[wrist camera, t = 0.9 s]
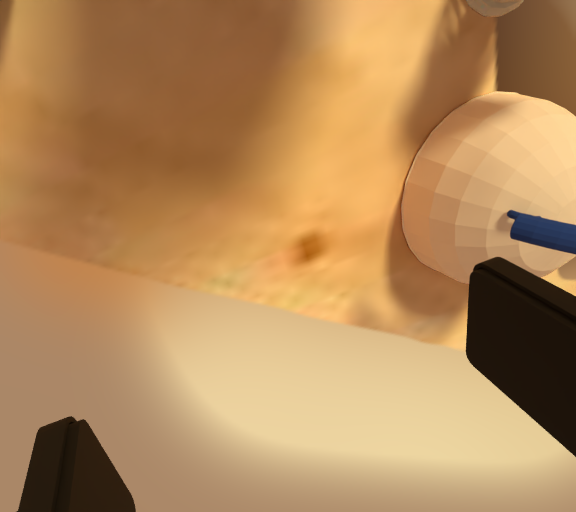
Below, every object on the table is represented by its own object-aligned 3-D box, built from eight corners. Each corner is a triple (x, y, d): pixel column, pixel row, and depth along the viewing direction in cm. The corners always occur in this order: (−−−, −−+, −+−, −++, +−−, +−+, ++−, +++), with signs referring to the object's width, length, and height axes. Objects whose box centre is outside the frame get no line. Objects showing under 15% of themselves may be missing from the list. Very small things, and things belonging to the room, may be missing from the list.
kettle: (511, 273, 53) (669, 360, 38) (376, 270, 45) (505, 378, 30) (580, 109, 46) (811, 134, 30) (433, 71, 38) (644, 78, 22)
